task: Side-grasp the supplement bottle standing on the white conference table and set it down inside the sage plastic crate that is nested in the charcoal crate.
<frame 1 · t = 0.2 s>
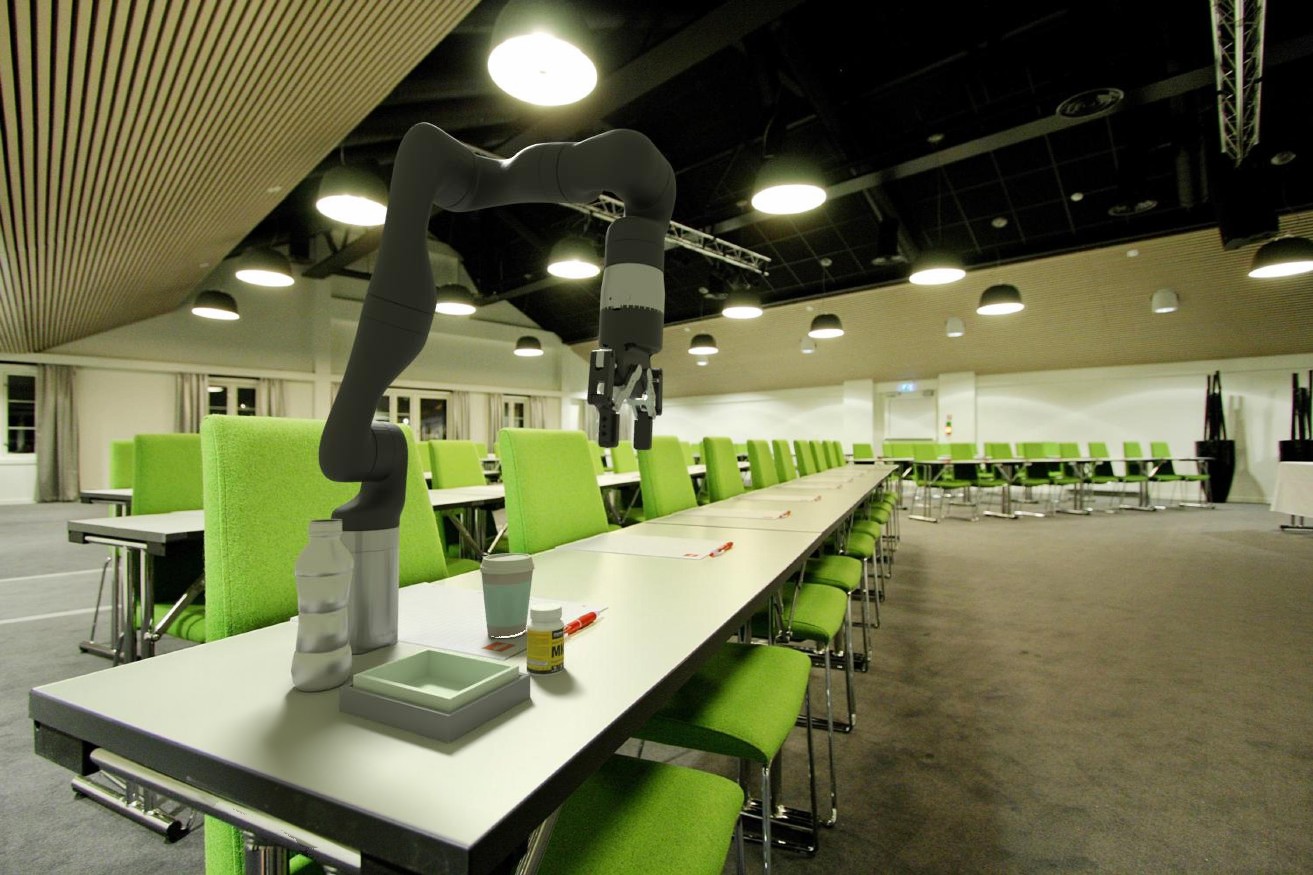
hand: (626, 448, 67), 29 cm above the table, tool pointing down, fingers open, 8 cm apart
plastic bottle: (321, 689, 70), on the table
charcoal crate: (437, 707, 64), on the table
sage crate: (437, 703, 64), resting on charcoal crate
coffee cup: (506, 634, 92), on the table
supplement bottle: (545, 674, 75), on the table
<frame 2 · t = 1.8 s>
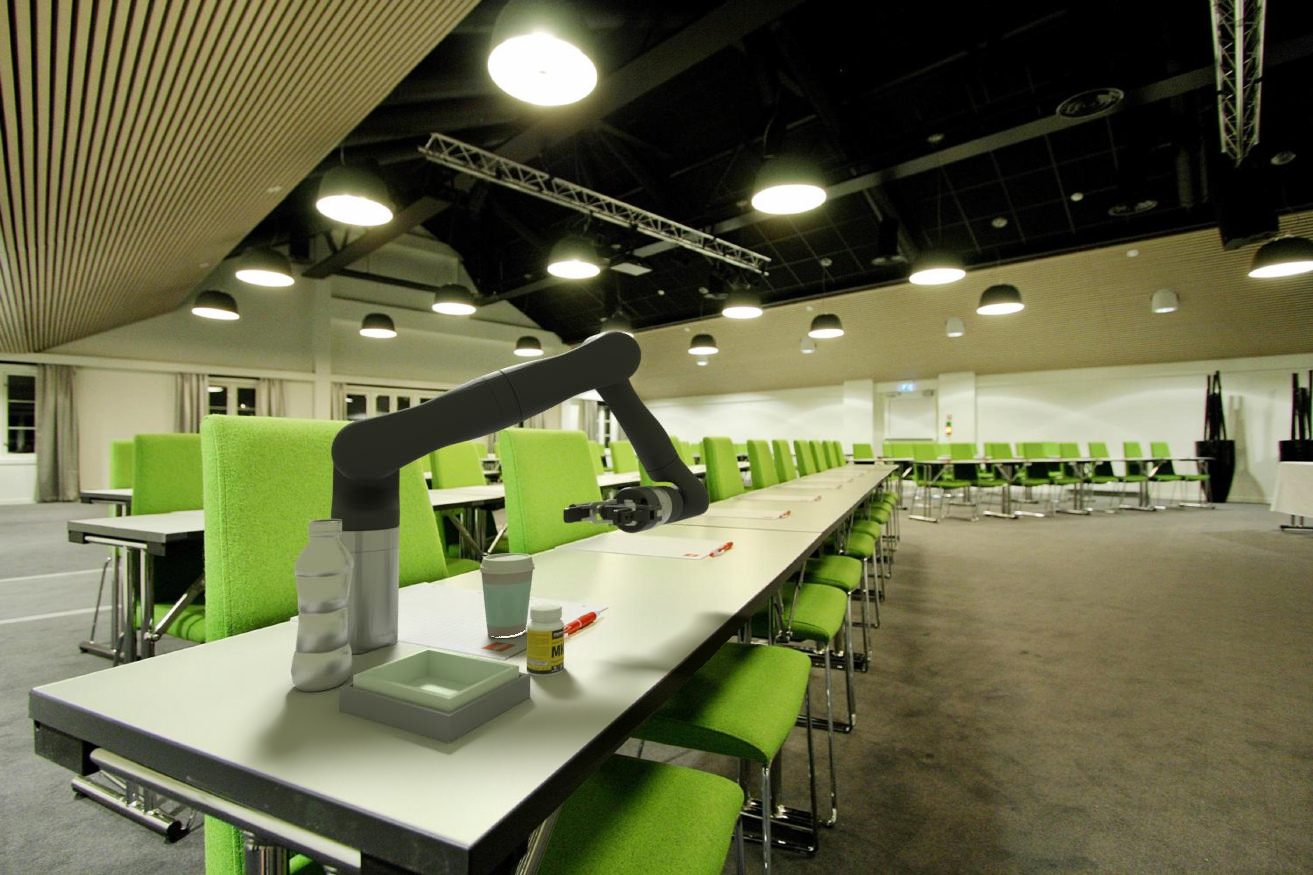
hand: (589, 517, 84), 19 cm above the table, tool horizontal, fingers open, 8 cm apart
nothing on the table moved.
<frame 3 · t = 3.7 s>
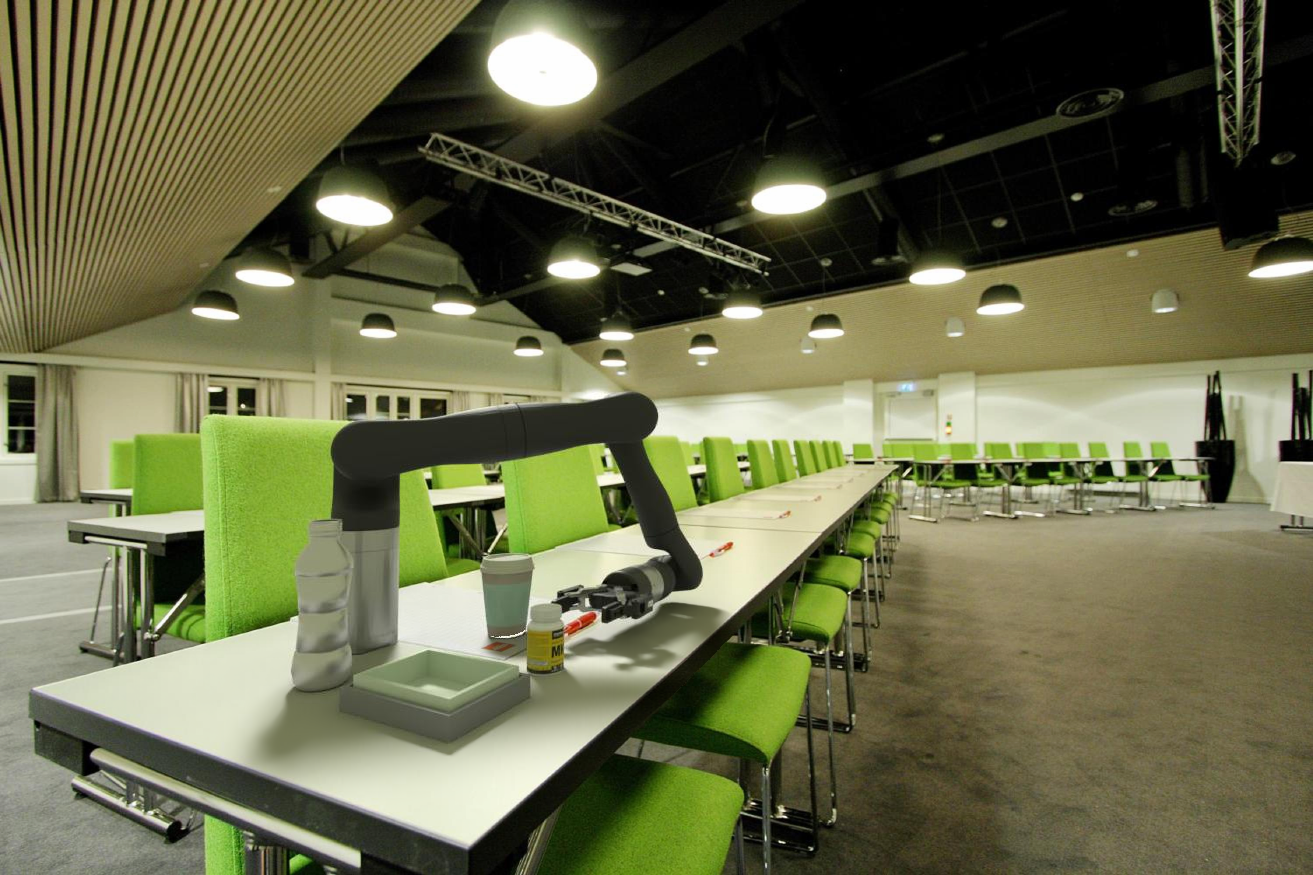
hand: (577, 612, 81), 6 cm above the table, tool horizontal, fingers open, 8 cm apart
nothing on the table moved.
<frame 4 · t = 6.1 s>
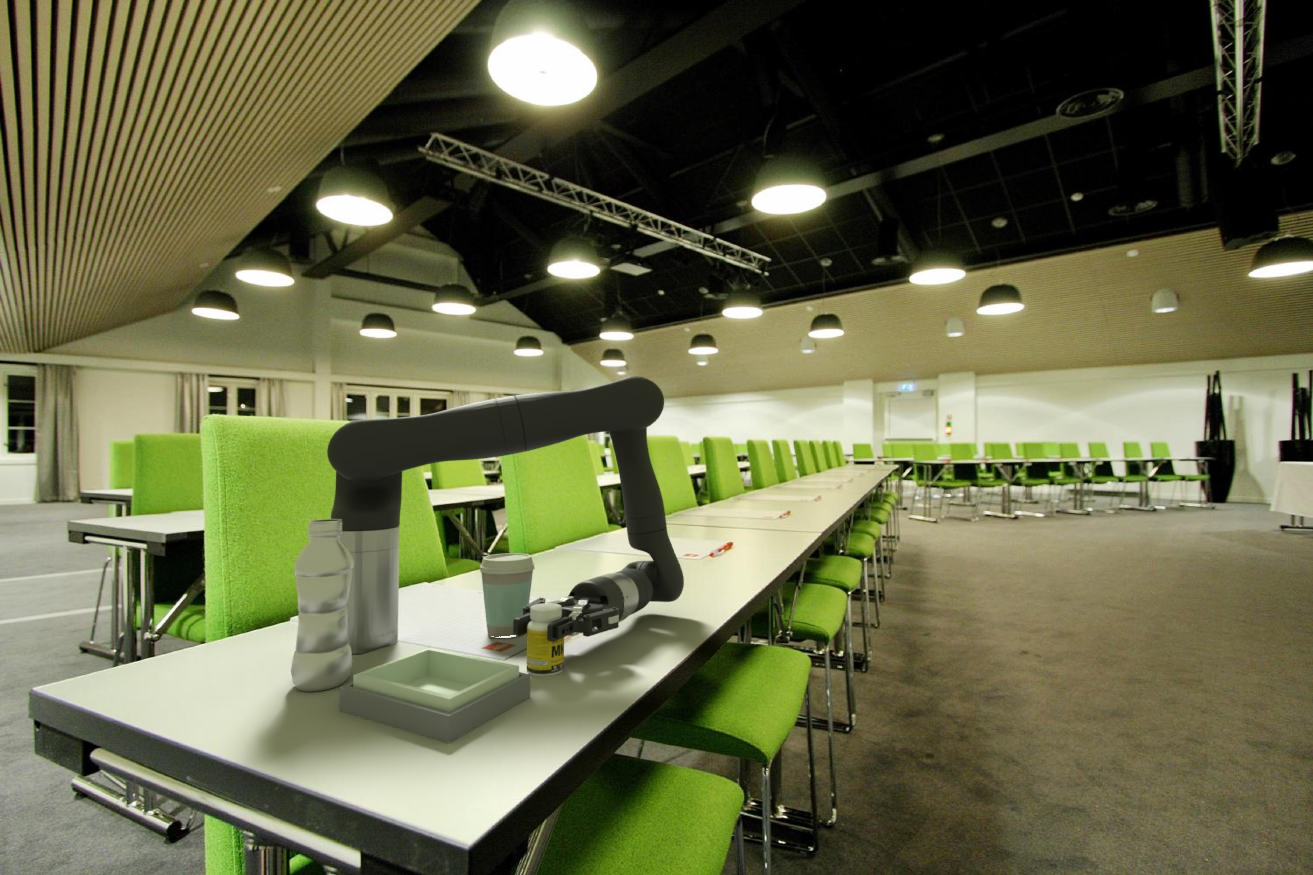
hand: (532, 630, 72), 6 cm above the table, tool horizontal, fingers closed on supplement bottle, 4 cm apart
supplement bottle: (545, 674, 75), on the table, touching gripper
everything else where it was.
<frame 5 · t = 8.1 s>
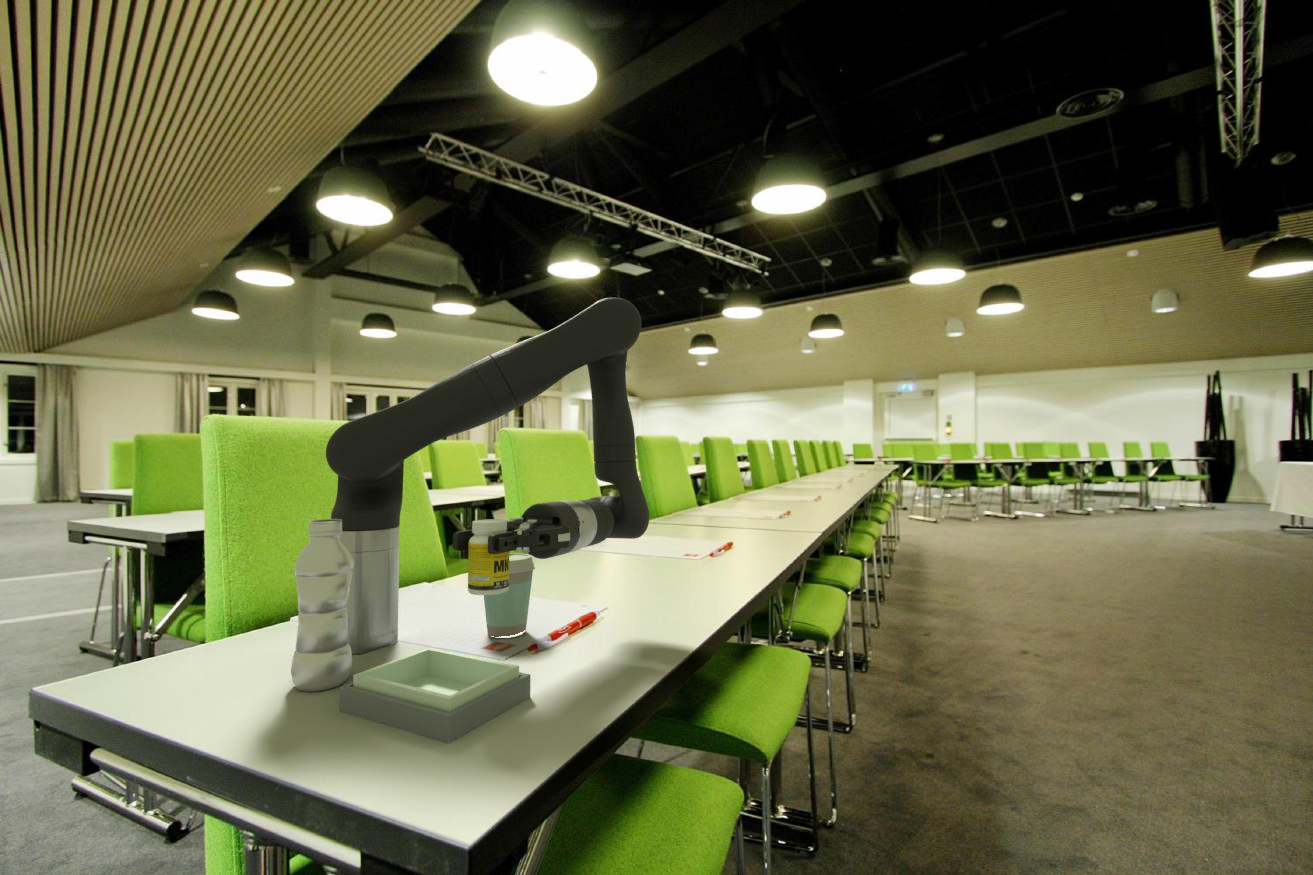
hand: (473, 543, 67), 18 cm above the table, tool horizontal, fingers closed on supplement bottle, 4 cm apart
supplement bottle: (488, 593, 69), point 11 cm above the table, touching gripper
everything else where it was.
when the fingers open (10 cm above the table, at t = 10.4 s): supplement bottle drops 3 cm, resting on sage crate.
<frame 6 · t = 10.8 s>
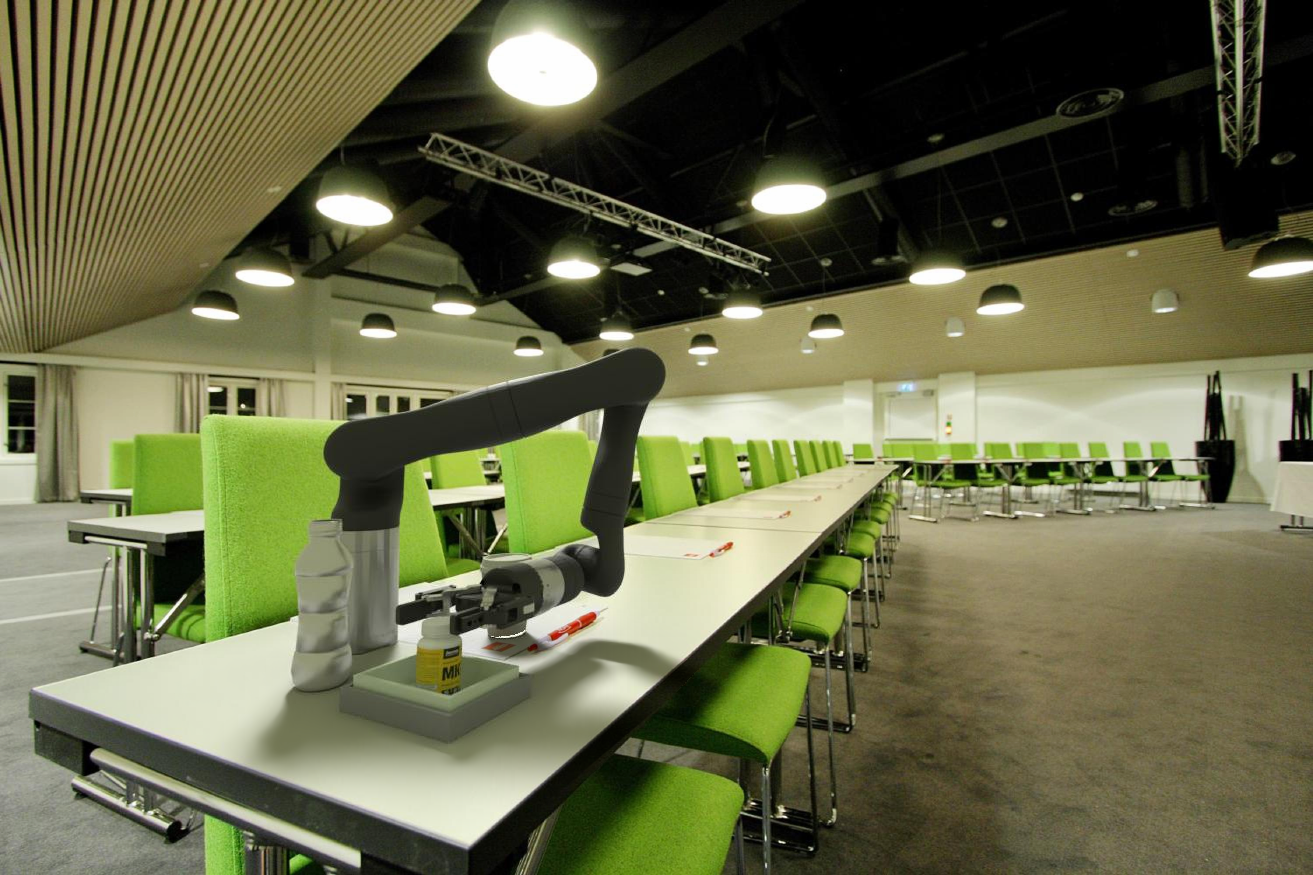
hand: (424, 620, 62), 10 cm above the table, tool horizontal, fingers open, 8 cm apart
supplement bottle: (437, 699, 64), point 1 cm above the table, touching sage crate
everything else where it was.
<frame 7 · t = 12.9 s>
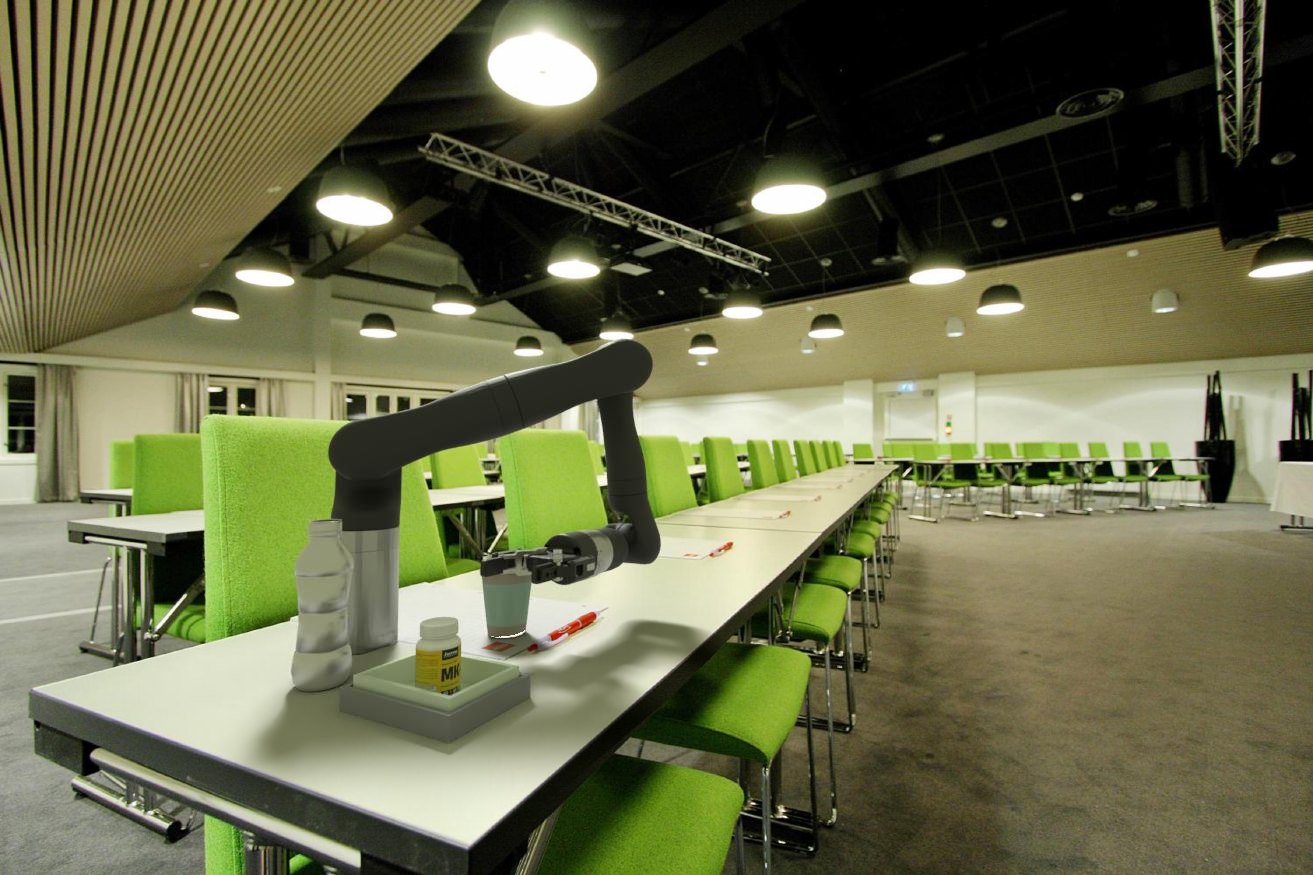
hand: (507, 572, 75), 13 cm above the table, tool horizontal, fingers open, 8 cm apart
nothing on the table moved.
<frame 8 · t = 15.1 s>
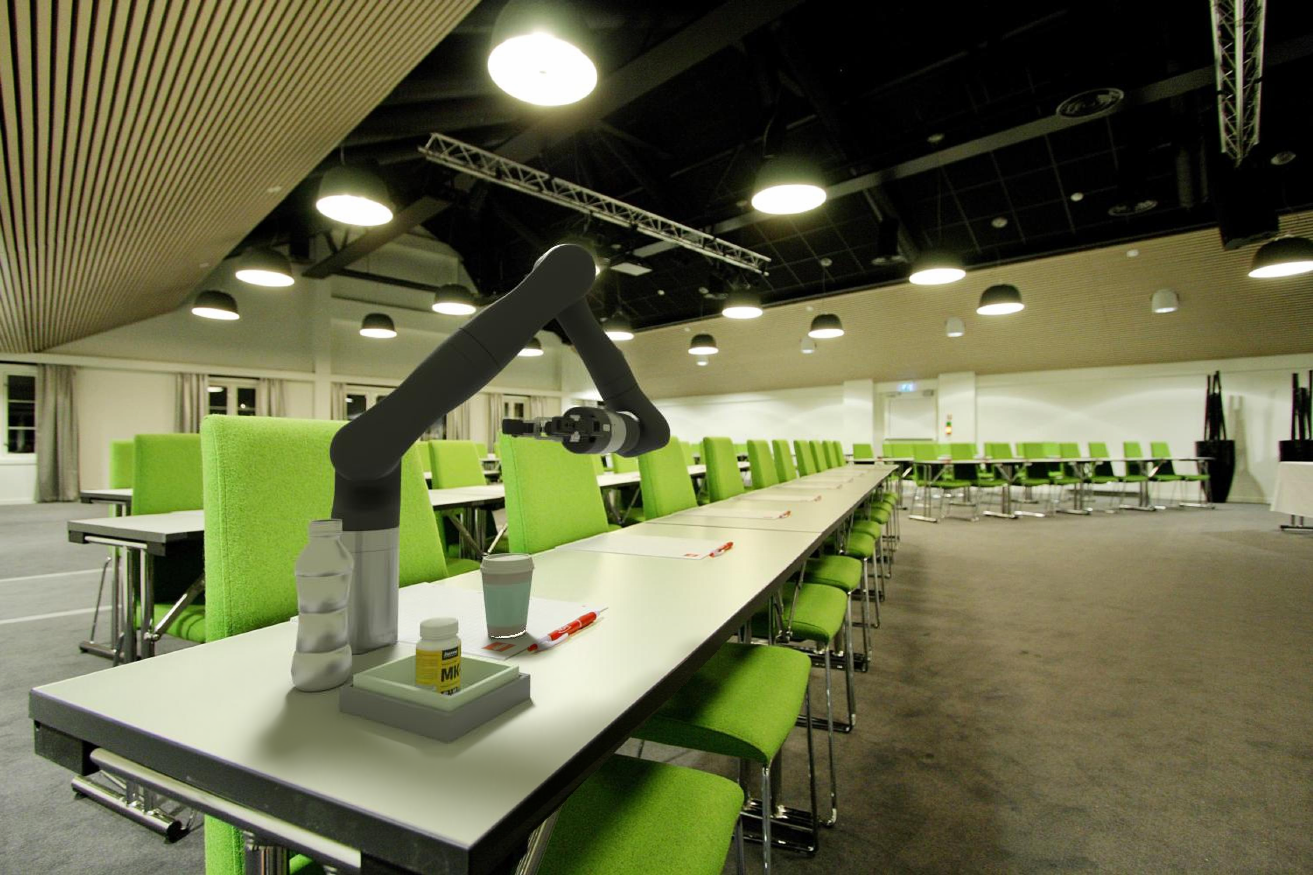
hand: (528, 425, 79), 32 cm above the table, tool horizontal, fingers open, 8 cm apart
nothing on the table moved.
at the end: supplement bottle inside the target area on the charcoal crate (0.1 cm from its centre), point 0.8 cm above the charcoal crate's base; supplement bottle tilted 0°; the gripper is holding nothing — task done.
